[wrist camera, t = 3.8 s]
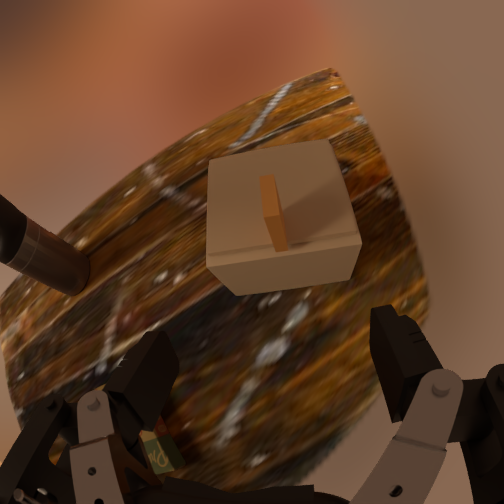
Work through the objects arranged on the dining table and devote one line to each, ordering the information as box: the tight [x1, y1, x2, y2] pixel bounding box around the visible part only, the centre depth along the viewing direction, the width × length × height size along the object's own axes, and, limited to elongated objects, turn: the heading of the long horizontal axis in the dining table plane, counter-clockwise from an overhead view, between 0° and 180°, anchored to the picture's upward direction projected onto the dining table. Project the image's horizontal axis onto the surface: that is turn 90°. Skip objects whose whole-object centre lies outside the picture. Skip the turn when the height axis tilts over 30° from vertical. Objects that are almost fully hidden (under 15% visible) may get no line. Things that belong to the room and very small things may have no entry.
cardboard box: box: [206, 144, 362, 296], centre depth 35 cm, size 14×16×12 cm
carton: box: [95, 384, 186, 475], centre depth 31 cm, size 8×16×4 cm, turn 28°
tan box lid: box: [207, 139, 357, 257], centre depth 26 cm, size 14×15×7 cm
